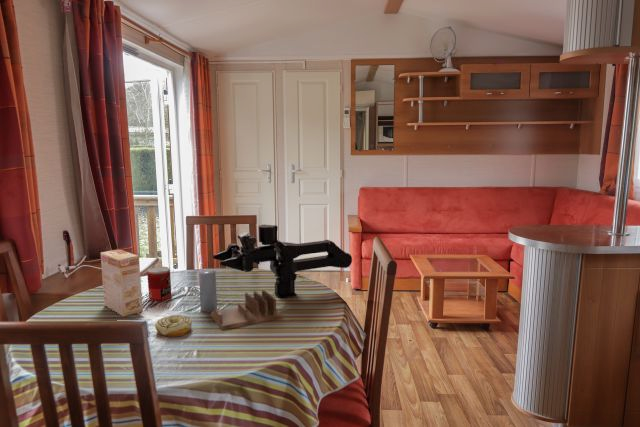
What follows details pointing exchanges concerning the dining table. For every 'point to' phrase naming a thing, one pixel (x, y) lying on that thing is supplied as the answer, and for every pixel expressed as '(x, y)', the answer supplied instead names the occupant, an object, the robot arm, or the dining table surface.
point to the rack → (248, 311)
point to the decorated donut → (173, 325)
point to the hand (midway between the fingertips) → (216, 260)
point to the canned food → (159, 283)
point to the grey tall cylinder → (207, 290)
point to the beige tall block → (121, 282)
